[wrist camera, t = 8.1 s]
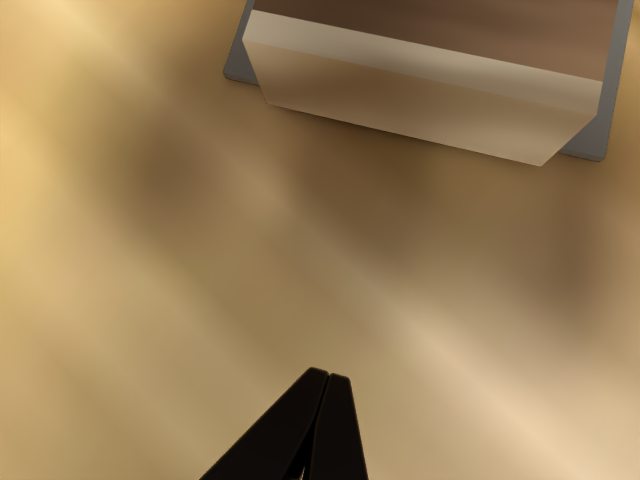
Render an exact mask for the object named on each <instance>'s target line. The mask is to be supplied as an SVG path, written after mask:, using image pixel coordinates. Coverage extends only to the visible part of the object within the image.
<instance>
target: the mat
mask: <svg viewBox="0 0 640 480" xmlns="http://www.w3.org/2000/svg"><path fill="white" fill-rule="evenodd" d="M254 2H255V0H247V3H246V6H245V9H244V12H243V15H242V18H241V20H240V23H239V26H238V29H237V32H236V35H235V38H234V41H233V44H232V47H231V50H230V53H229V56H228V59H227V62H226V65H225V68H224V71H223V74H224V76H225V78H228V79H232V80H237V81H241V82H245V83H250V84H254V85H259V83H258V80H257V77H256V75H255V72H254V70H253V67H252V64H251V62H250V59H249V56H248V54H247V51H246V49H245V46H244V43H243V41H242V38H243V35H244V32H245V29H246V26H247V23H248V20H249V17H250V14H251V11H252V8H253V5H254ZM633 3H634V0H619V1H618V6H617V11H616V16H615V21H614V27H613V32H612V37H611V42H610V47H609V53H608V58H607V63H606V68H605V73H604V79H603V84H602V89H601V94H600V99H599V105H598V110H597V115H596V116H595V117H594V118H593V119H592V120H591V121H590V122H589V123H588V124H587V125H586V126H584V127H583V128H582V129H581V130H580V131H579V132H578V133H577V134H576V135H575V136H574V137H573V138H571V139H570V140H569V141H568V142H567V143H566V144H565V145H564V146H563V147H562V148H561V149H560V150H558V151H557V153H562V154H566V155H571V156H575V157H580V158H584V159H588V160H593V161H597V162H600V161H601V160H603V159H604V158H605V155H606V150H607V144H608V139H609V133H610V128H611V123H612V117H613V112H614V106H615V101H616V95H617V90H618V85H619V79H620V74H621V68H622V63H623V58H624V52H625V47H626V41H627V36H628V31H629V25H630V20H631V14H632V9H633ZM259 86H260V85H259Z"/></svg>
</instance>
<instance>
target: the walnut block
mask: <svg viewBox="0 0 640 480" xmlns="http://www.w3.org/2000/svg"><path fill="white" fill-rule="evenodd" d="M618 1H619V0H255V2H254V5H253V8H252V11H251V14H250V17H249V20H248V23H247V26H246V29H245V32H244V35H243V38H242V41H243V43H244V46H245V49H246V51H247V54H248V56H249V59H250V62H251V64H252V67H253V70H254V72H255V75H256V77H257V80H258V83H259V85H260V88H261V90H262V93H263V96H264V98H265V101H266V104H270V105H275V106H279V107H283V108H288V109H292V110H296V111H301V112H305V113H309V114H314V115H318V116H322V117H327V118H331V119H335V120H340V121H344V122H348V123H353V124H357V125H361V126H366V127H370V128H375V129H379V130H383V131H388V132H392V133H396V134H401V135H405V136H409V137H414V138H418V139H422V140H427V141H431V142H435V143H440V144H444V145H448V146H453V147H457V148H462V149H466V150H470V151H475V152H479V153H483V154H488V155H492V156H496V157H501V158H505V159H509V160H514V161H518V162H522V163H527V164H531V165H535V166H540V167H541V166H542V165H543V164H544V163H545V162H547V161H548V160H549V159H550V158H551V157H552V156H553V155H554V154H555V153H556V152H557V151H558V150H560V149H561V148H562V147H563V146H564V145H565V144H566V143H567V142H568V141H569V140H570V139H571V138H573V137H574V136H575V135H576V134H577V133H578V132H579V131H580V130H581V129H582V128H583V127H584V126H586V125H587V124H588V123H589V122H590V121H591V120H592V119H593V118H594V117H595V116H596V115H597V110H598V105H599V99H600V94H601V89H602V84H603V79H604V73H605V68H606V63H607V58H608V53H609V47H610V42H611V37H612V32H613V27H614V21H615V16H616V11H617V6H618Z"/></svg>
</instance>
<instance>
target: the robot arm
mask: <svg viewBox="0 0 640 480" xmlns="http://www.w3.org/2000/svg"><path fill="white" fill-rule="evenodd" d="M303 471H304V473H303ZM302 474H303V477H302ZM301 477H302V480H369V479H368V473H367V468H366V463H365V457H364V452H363V447H362V441H361V436H360V430H359V425H358V420H357V414H356V409H355V403H354V398H353V393H352V387H351V382H350V379H349V378H348V377H346V376H342V375H339V374H335V373H331V374H330V375H329V373H328V372H327V371H325V370H322V369H318V368H315V367H310V368H309V369H307V370H306V371H305V372H304V373H303V374H302V375H301V376H300V377H299V378H298V379H297V380H296V381H295V383H294V384H293V385H292V386H291V387H290V388H289V389H288V390H287V391H286V392H285V393H284V394H283V395H282V396H281V397H280V398H279V399H278V400H277V401H276V402H275V403H274V404H273V405H272V406H271V407H270V408H269V409H268V410H267V411H266V412H265V413H264V414H263V415H262V416H261V417H260V418H259V419H258V420H257V421H256V422H255V423H254V424H253V425H252V426H251V427H250V428H249V429H248V430H247V431H246V432H245V433H244V434H243V435H242V436H241V437H240V438H239V439H238V440H237V441H236V442H235V443H234V444H233V445H232V447H231V448H230V449H229V450H228V451H227V452H226V453H225V454H224V455H223V456H222V457H221V458H220V459H219V460H218V461H217V462H216V463H215V464H214V465H213V466H212V467H211V468H210V469H209V470H208V471H207V472H206V473H205V474H204V475H203V476H202V477H201V478H200V479H199V480H301Z"/></svg>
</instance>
